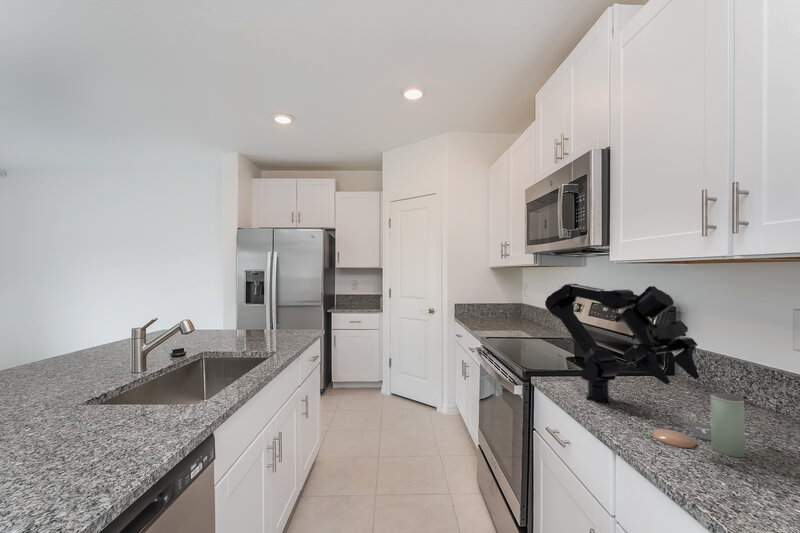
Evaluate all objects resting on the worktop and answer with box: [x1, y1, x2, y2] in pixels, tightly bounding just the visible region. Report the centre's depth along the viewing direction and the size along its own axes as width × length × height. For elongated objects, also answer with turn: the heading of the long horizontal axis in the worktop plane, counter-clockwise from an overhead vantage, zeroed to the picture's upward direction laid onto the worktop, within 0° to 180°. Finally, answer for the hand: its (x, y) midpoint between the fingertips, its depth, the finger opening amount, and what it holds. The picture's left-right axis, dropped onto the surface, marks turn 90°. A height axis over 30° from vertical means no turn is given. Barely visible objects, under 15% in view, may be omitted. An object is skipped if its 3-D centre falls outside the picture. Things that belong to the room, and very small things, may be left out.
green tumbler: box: [709, 391, 746, 458], centre depth 75 cm, size 6×6×12 cm
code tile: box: [688, 421, 711, 442], centre depth 83 cm, size 10×8×1 cm
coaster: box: [652, 428, 697, 449], centre depth 80 cm, size 8×8×1 cm
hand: (683, 381), depth 84 cm, fingers open, 9 cm apart
